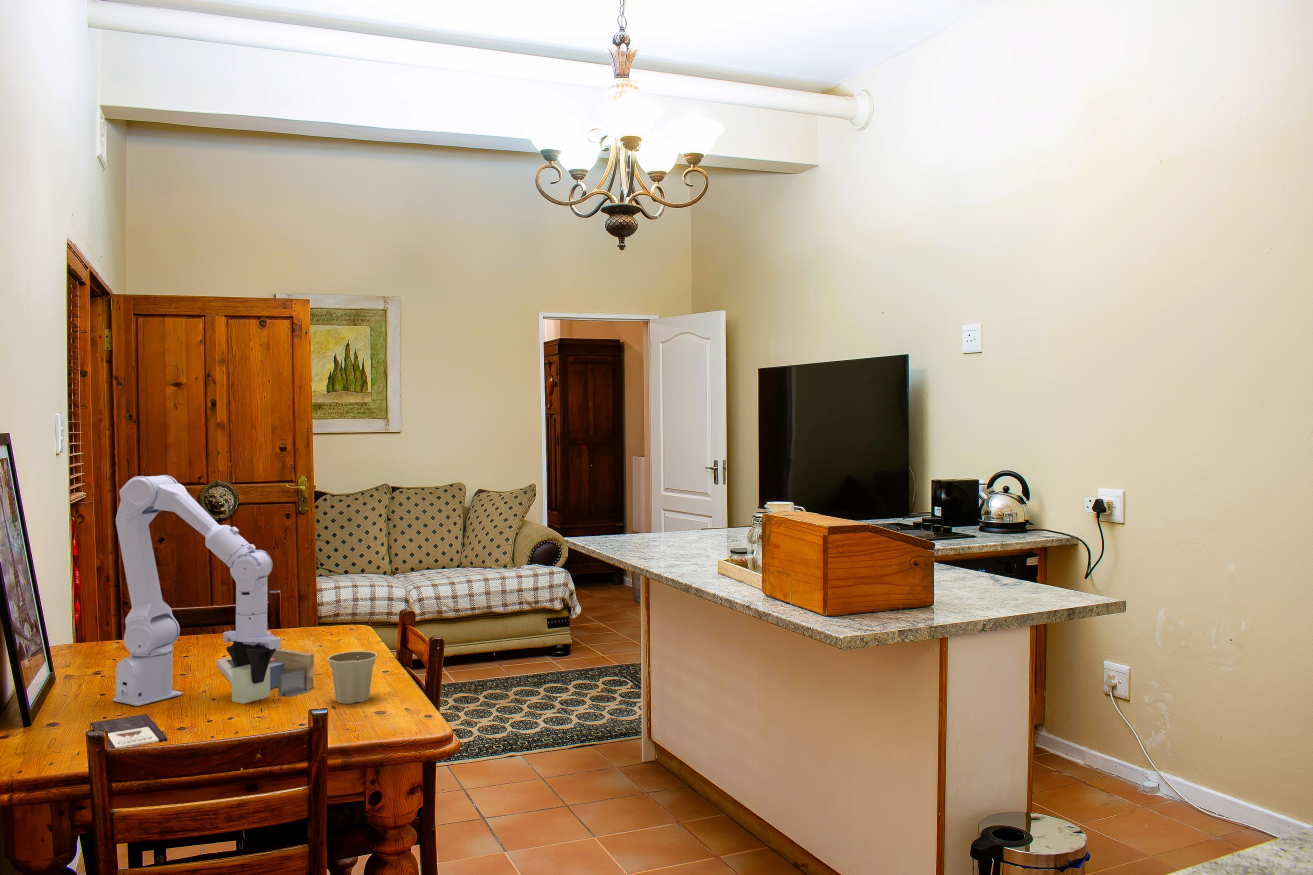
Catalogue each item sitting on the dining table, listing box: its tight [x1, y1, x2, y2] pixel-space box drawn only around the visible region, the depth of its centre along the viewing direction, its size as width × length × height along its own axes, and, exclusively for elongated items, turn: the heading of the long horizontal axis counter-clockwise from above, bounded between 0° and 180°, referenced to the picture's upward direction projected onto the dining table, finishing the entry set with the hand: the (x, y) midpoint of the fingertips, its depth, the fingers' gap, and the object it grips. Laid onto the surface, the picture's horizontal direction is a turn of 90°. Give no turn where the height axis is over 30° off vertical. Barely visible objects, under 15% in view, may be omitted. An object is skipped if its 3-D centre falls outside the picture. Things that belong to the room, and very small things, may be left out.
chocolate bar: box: [89, 713, 168, 749], centre depth 158 cm, size 9×1×18 cm
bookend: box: [277, 669, 312, 698], centre depth 185 cm, size 6×3×4 cm, turn 152°
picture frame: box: [216, 657, 235, 685], centre depth 203 cm, size 16×3×21 cm
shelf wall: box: [271, 648, 315, 689], centre depth 191 cm, size 2×12×7 cm, turn 62°
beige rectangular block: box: [231, 664, 271, 704], centre depth 180 cm, size 6×4×6 cm, turn 152°
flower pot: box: [326, 650, 378, 705], centre depth 180 cm, size 9×9×9 cm
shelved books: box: [269, 658, 284, 690], centre depth 189 cm, size 6×5×5 cm
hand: (251, 681), depth 180 cm, fingers closed on beige rectangular block, 3 cm apart
